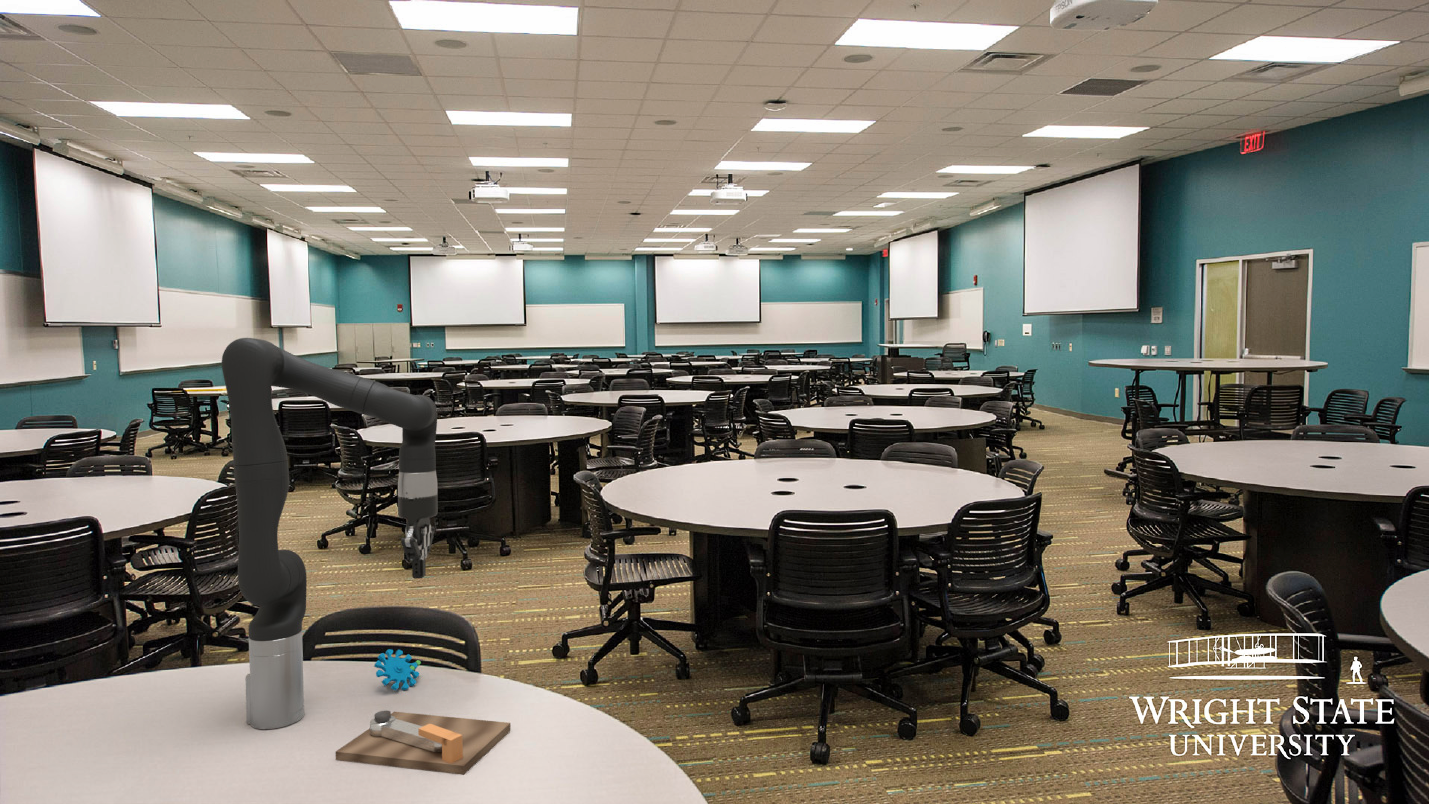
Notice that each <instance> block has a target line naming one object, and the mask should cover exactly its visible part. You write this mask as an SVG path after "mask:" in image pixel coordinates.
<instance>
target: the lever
mask: <svg viewBox="0 0 1429 804" xmlns="http://www.w3.org/2000/svg"><path fill="white" fill-rule="evenodd" d="M421 727H423V726H419V725H416V724H412V723H409V722H405V721H402V720H398V719H395V717H394V716H391V719H390V720H388V721H385V722H375V718H372V719H371V720H370V722H369V728H370V734H371V735H372V736H382V737H386V738H389V739H392V740H396V741H399V742H402V743H406V744H409V745H412V746H416V747H419V748H423V749H426V750H429V751H433V752H438V753H439V752H442V744H441V743H438V742H435V741H433V740H430V739H427V738H425V737H422V736H419V733H418V729H419V728H421Z"/></svg>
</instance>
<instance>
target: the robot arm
mask: <svg viewBox="0 0 1429 804" xmlns="http://www.w3.org/2000/svg"><path fill="white" fill-rule="evenodd" d="M221 371H222V374H223V375H222V376H223V380H224V384H225V388H226V389H225V390H226V394H227V400H228V405H229V410H230V412H229V413H230V428H231V442H232V443H231V444H232V463H233V475H234V485H235V492H236V493H235V494H236V505H237V523H238V553H237V554H238V556H237V557H238V559H237V582H238V589H239V590H240V593H241V595H242V596H243V598H244V599H245V600H246V602H248V603H250V604H251V605H254V606H259V607H258V610H257V612H256V613H255V615H254V616H253V618H252V619H251V621H250V622H249V624H248V630H247V631H248V655H249V657H248V659H249V660H248V661H249V673H247V674H246V675H245V706H246V707H245V709H246V713H245V714H246V715H245V716H246V724H247V725H251V727H253V728H255V729H258V730H271V729H278V728H283V727H287V726H290V725H292V724H296V723H297V722H299V721H300V720H301V719H302V718H304V716H305V698H304V697H305V696H304V695H305V694H304V693H305V692H304V691H305V690H304V688H305V687H304V656H303V655H304V654H303V650H304V649H303V620H304V618H305V615H306V612H307V590H308V589H307V586H308V585H307V581H308V580H307V579H308V577H307V570H306V565H305V563H304V561H303V558H301V556H300V555H299V554H297V553H296V552H294V551H293V550H290V549H279V542H278V541H279V540H278V539H279V538H278V537H279V536H278V531H279V530H278V529H279V523H280V520H281V517H282V514H283V509H284V506H285V504H286V502H287V497H288V494H289V489H290V471H289V469H290V468H289V461H288V460H289V457H288V453H287V452H288V451H287V448H286V443H285V441H284V438H283V436H282V433H281V430H280V428H279V425H278V422H277V420H276V416H275V413H274V409H273V407H274V406H273V394H272V392H273V391H272V388H273V387H277V388H283V389H289V390H293V391H297V392H301V393H305V394H307V395H309V396H313V397H315V398H318V399H320V400H322V401H324V402H327V403H329V404H331V405H334V406H337V407H339V408H341V409H344V410H347V411H352V412H355V413H357V414H361V415H364V416H367V417H372V418H377V419H379V420H381V421H384V422H386V423H388V424H391V425H393V426H395V427H398V428H400V429H401V428H402V435H401V438H402V441H401V445H400V446H399V451H398V480H397V505H398V506H397V509H398V510H397V512H398V514H397V515H398V517H399V518H400V519H405V520H406V526H405V528H404V529H405V531H404V533H405V537H401V539H400V544H401V546H402V548H403V549H402V550H403V551H404V554H405V556H406V559H407V560H410V561H411V565H412V566H411V574H412V575H411V577H412V578H413V579H424V577H426V571H427V570H426V559H427V558H428V554H430V552H431V549H432V543H433V539H434V534H435V530H436V528H435V526H432V525H431V519H430V518H433V517H435V516H437V515H438V510H439V509H438V505H439V504H438V500H439V499H438V477H437V469H436V468H437V466H436V465H437V463H436V461H437V459H436V457H437V456H436V455H437V454H436V440H437V439H436V438H437V428H438V411H437V410H438V409H437V406H436V404H435V402H434V401H433V400H432V398H430V397H429V396H426V395H422V394H416V395H415V394H411V393H407V392H405V391H401V390H397V389H394V388H390V386H387V384H384V383H381V382H378V381H375V380H372V379H369V378H367V377H362V376H360V375H356V374H353V373H349V372H347V371H342V370H338V369H335V368H331V367H327V366H323V365H320V364H317V363H314V362H312V361H308V360H306V359H305V358H304V359H303V358H301V357H299V356H297V355H295V354H293V353H292V352H289V351H287V350H285V349H283V348H281V347H279V346H277V345H275V344H274V343H272V342H270V341H268V340H266V339H265V340H264V339H261V338H253V337H241V338H237V339H235V340H233V341H232V342H230V343H229V344H228V345H226V347H225V349H224V351H223V353H222V357H221Z"/></svg>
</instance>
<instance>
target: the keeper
mask: <svg viewBox="0 0 1429 804" xmlns="http://www.w3.org/2000/svg"><path fill="white" fill-rule="evenodd" d="M418 733H419V736H422V737H425V738H427V739H430V740H433V741H435V742H438V743H441V744H442V760H444V761H446V762H449V763H451V764H452V763H453V762H455V761H457V760H459V759H461V758H463V743H462V735H461V734H458V733H455V732H452V731H449V730H447V729H444V728H441V727H438V726H435V725H433V724H428V725H425V726H423V727H421V728H419V729H418Z"/></svg>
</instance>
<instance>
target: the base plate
mask: <svg viewBox="0 0 1429 804" xmlns="http://www.w3.org/2000/svg"><path fill="white" fill-rule="evenodd" d="M391 716H394V717H395V719H398V720H402V721H405V722H409V723H412V724H416V725H419V726H425V725H428V724H433V725H435V726H438V727H441V728H444V729H447V730H449V731H452V732H455V733H458V734H461V735H462V743H463V758H461V759H459V760H457V761H455V762H453V763H452V764H451V763H449V762H446V761H444V760H442V752H439V753H438V752H433V751H429V750H426V749H423V748H419V747H416V746H412V745H409V744H406V743H402V742H399V741H396V740H392V739H389V738H386V737H382V736H372V735H371V734H370V727H369V728H368V729H366V730H365V731H364V732H362V733H360V734H359V735H358V736H356V737H355V738H353V739H352V740H350V741H349V742H347V743H346V744H344V745H343V746H342V747H340V748H339V749H337V750H336V751H335V760H336V761H344V762H350V763H360V764H366V765H367V764H369V765H378V766H385V767H386V766H387V767H395V768H404V769H414V770H422V771H428V772H429V771H430V772H431V771H432V772H437V773H440V772H441V773H447V774H458V775H465V774H466V773H467V772H468V771H469V770H470V769H471V768H472V767H473V766H474V765H475V764H477V763H478V762H479V761H480V760H482V758H483V757H484V756H485V755H486V754H488V752H489V751H491V750H492V748H494V747H495V746H496V745H497V744H498V743H499V742H500V741H502V739H504V737H505V736H506V735H507V734H508V733H510V732H511V729H512V728H511V722H505V721H494V720H485V719H484V720H483V719H475V718H464V717H453V716H444V715H434V714H423V713H412V712H404V711H393V712H391V711H390V710H380V711H377V712H375V713H374V718H375V722H385V721H388V720H390V719H391ZM374 718H373V719H374Z"/></svg>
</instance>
